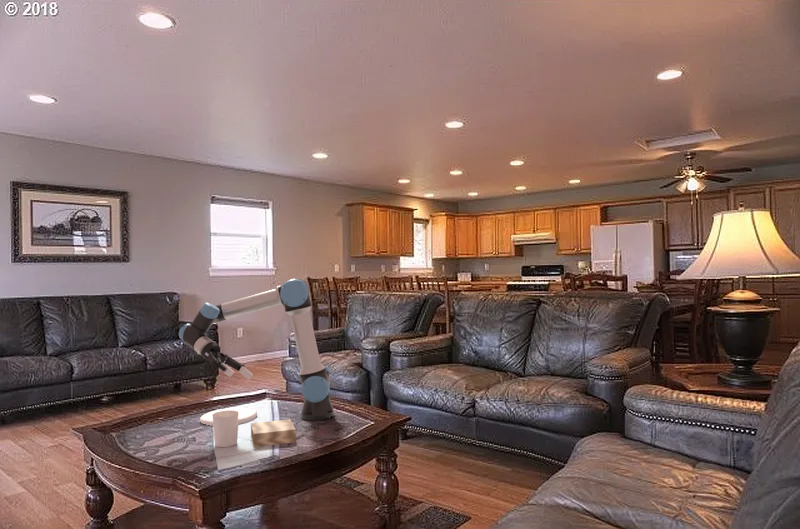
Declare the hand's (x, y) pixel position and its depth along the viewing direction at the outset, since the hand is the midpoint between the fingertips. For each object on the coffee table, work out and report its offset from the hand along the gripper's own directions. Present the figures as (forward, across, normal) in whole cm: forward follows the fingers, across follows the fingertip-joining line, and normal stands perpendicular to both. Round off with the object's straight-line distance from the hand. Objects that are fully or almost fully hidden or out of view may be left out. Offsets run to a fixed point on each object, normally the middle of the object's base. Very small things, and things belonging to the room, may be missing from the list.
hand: (241, 376), depth 222 cm
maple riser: (+22, -9, -14) cm, 28 cm away
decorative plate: (-12, -30, -28) cm, 43 cm away
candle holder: (+12, +2, -24) cm, 27 cm away
